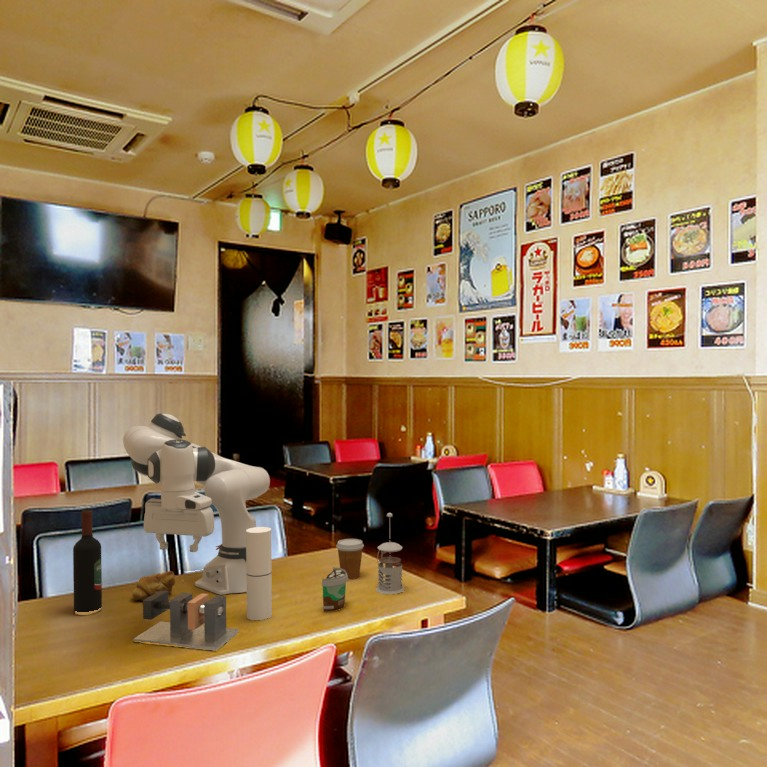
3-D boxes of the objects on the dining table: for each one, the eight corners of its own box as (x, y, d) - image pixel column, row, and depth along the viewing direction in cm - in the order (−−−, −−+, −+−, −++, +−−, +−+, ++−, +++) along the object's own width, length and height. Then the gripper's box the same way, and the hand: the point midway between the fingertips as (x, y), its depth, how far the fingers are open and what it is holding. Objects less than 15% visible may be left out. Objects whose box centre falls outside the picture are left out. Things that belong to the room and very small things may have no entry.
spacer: (187, 629, 162) (187, 602, 162) (202, 619, 169) (201, 593, 169) (194, 630, 161) (194, 603, 161) (208, 619, 168) (208, 594, 168)
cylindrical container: (250, 622, 176) (249, 533, 176) (244, 614, 182) (243, 528, 182) (275, 617, 179) (274, 530, 179) (267, 609, 186) (266, 525, 185)
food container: (342, 614, 181) (342, 580, 181) (322, 613, 182) (321, 579, 182) (352, 599, 193) (352, 567, 193) (333, 598, 194) (333, 566, 194)
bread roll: (136, 605, 190) (136, 579, 190) (126, 597, 198) (126, 572, 198) (178, 596, 198) (177, 571, 198) (167, 588, 206) (167, 564, 206)
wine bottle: (74, 608, 188) (73, 509, 188) (102, 604, 191) (101, 506, 191) (73, 617, 181) (71, 514, 181) (101, 613, 184) (100, 511, 184)
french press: (384, 596, 196) (384, 517, 196) (367, 586, 206) (366, 510, 206) (411, 591, 201) (410, 513, 200) (392, 581, 211) (391, 507, 211)
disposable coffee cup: (352, 570, 223) (351, 537, 223) (369, 576, 216) (369, 542, 216) (331, 576, 217) (330, 541, 217) (348, 582, 210) (348, 547, 210)
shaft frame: (133, 642, 163) (132, 601, 163) (160, 625, 175) (160, 586, 174) (216, 651, 157) (215, 608, 157) (238, 632, 169) (238, 592, 169)
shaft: (143, 619, 164) (142, 600, 164) (161, 608, 172) (160, 590, 172) (213, 626, 159) (213, 606, 159) (228, 614, 167) (228, 596, 167)
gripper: (138, 500, 170) (138, 550, 170) (204, 503, 165) (204, 556, 165) (152, 496, 176) (153, 544, 176) (217, 499, 171) (217, 549, 171)
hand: (178, 550), depth 170 cm, fingers open, 8 cm apart
